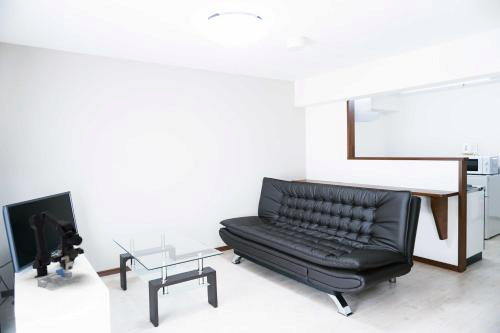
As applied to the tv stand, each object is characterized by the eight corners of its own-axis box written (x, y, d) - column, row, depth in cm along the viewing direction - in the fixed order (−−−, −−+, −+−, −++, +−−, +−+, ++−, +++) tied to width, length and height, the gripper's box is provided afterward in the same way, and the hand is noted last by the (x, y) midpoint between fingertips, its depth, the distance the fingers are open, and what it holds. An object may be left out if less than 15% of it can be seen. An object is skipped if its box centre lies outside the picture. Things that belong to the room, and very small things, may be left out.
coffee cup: (75, 262, 236) (74, 242, 235) (69, 267, 227) (67, 246, 226) (62, 263, 236) (61, 242, 234) (55, 268, 227) (54, 246, 225)
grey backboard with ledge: (37, 287, 198) (37, 276, 197) (66, 276, 213) (65, 266, 213) (51, 292, 191) (51, 281, 191) (80, 280, 206) (79, 270, 206)
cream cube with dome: (59, 268, 205) (58, 261, 205) (65, 266, 208) (64, 259, 208) (68, 271, 201) (67, 263, 200) (74, 268, 204) (73, 261, 204)
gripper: (59, 250, 190) (61, 277, 192) (89, 241, 207) (90, 265, 208) (47, 247, 196) (49, 273, 197) (77, 238, 212) (79, 262, 214)
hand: (67, 268), depth 204 cm, fingers closed on cream cube with dome, 4 cm apart
